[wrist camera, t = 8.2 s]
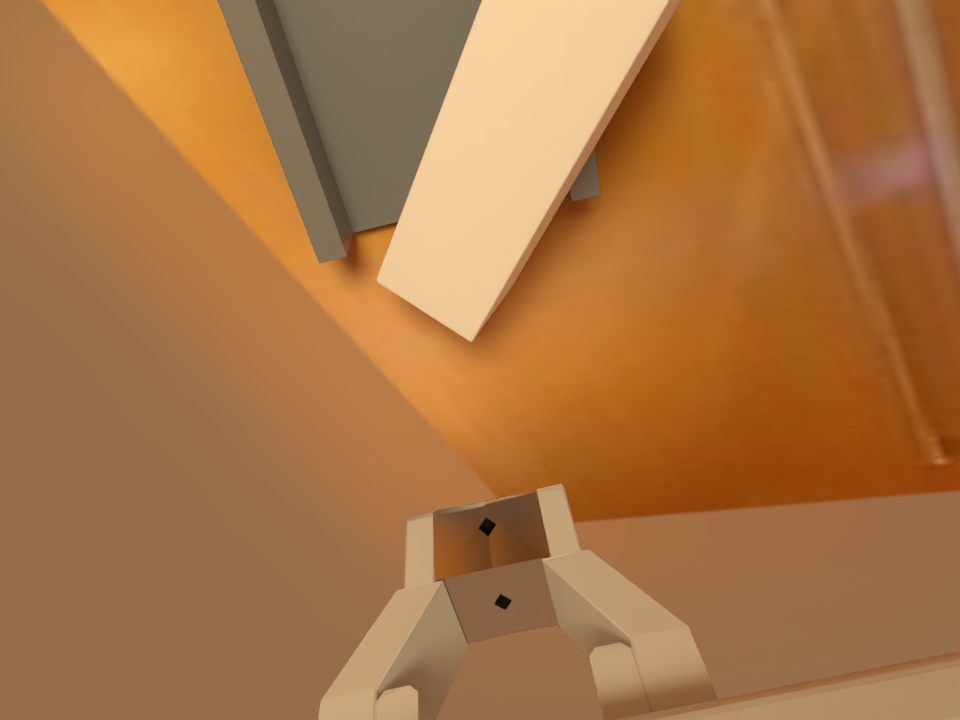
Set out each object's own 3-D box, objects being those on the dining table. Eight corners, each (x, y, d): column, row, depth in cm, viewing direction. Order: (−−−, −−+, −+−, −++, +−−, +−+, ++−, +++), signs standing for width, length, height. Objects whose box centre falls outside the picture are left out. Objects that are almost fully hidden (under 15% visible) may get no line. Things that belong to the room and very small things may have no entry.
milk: (374, 282, 32) (580, -285, 17) (426, 234, 37) (626, -251, 22) (473, 345, 32) (768, -173, 17) (513, 289, 36) (776, -162, 21)
